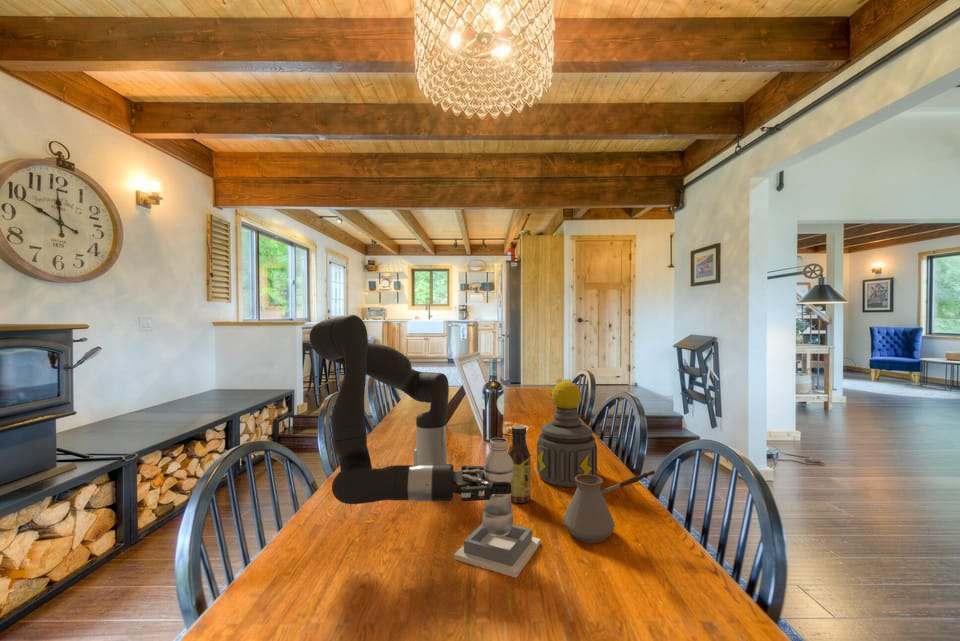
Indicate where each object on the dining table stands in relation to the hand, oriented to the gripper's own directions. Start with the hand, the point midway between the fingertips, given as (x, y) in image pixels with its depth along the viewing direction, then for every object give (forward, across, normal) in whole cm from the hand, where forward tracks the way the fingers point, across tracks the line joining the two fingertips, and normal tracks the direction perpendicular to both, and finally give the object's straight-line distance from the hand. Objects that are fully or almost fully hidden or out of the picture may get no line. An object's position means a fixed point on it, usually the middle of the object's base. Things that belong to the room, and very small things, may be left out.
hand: (509, 481), depth 92 cm
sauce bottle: (+6, +26, +15) cm, 30 cm away
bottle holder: (-2, 0, +15) cm, 15 cm away
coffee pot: (+24, +6, +15) cm, 29 cm away
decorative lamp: (+23, +41, +15) cm, 49 cm away
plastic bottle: (-2, 0, +11) cm, 11 cm away
